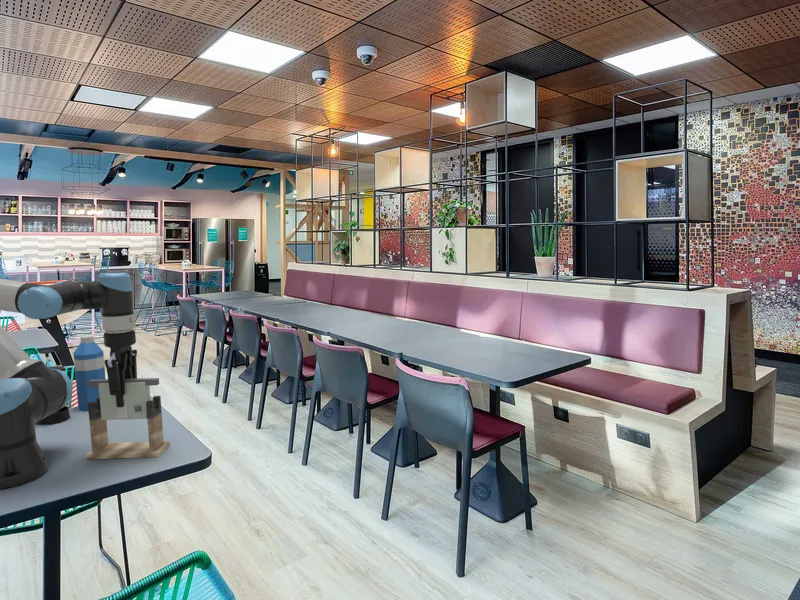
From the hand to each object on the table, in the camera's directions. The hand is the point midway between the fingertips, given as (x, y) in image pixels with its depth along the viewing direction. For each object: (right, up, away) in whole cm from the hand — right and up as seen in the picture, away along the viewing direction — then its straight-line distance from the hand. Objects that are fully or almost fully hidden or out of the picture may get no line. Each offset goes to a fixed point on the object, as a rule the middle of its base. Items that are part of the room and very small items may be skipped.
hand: (126, 415), depth 144 cm
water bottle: (-33, -6, +41) cm, 53 cm away
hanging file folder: (0, -1, 0) cm, 1 cm away
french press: (-39, -8, +28) cm, 48 cm away
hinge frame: (0, -10, +1) cm, 10 cm away
